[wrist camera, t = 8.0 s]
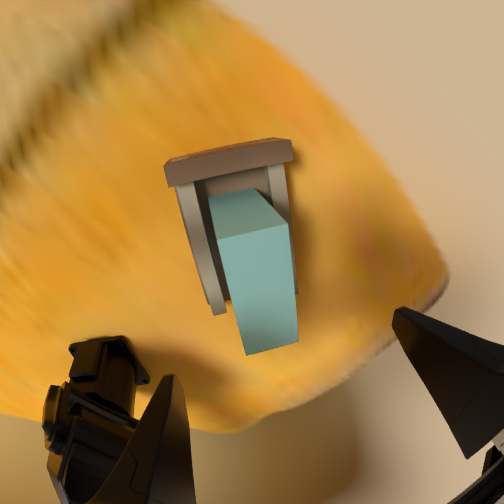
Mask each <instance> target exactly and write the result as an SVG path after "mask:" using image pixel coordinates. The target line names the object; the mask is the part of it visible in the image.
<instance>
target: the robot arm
mask: <svg viewBox="0 0 504 504" xmlns="http://www.w3.org/2000/svg"><path fill="white" fill-rule="evenodd" d="M392 328H393V330H394V332H395V334H396V336H397V338H398V340H399V342H400V344H401V346H402V348H403V350H404V352H405V353H406V355H407V357H408V359H409V360H410V362H411V364H412V365H413V367H414V368H415V370H416V371H417V373H418V374H419V376H420V378H421V379H422V381H423V382H424V384H425V386H426V388H427V389H428V391H429V393H430V394H431V396H432V398H433V399H434V401H435V403H436V404H437V406H438V408H439V410H440V411H441V413H442V415H443V417H444V418H445V420H446V422H447V424H448V425H449V427H450V429H451V431H452V433H453V435H454V437H455V439H456V441H457V442H458V444H459V446H460V448H461V450H462V452H463V454H464V456H465V458H466V459H469V458H470V457H471V456H473V455H474V454H475V453H476V452H478V451H479V450H480V449H481V448H483V447H484V446H485V445H486V444H487V443H488V442H490V441H491V440H492V441H493V443H494V445H493V446H492V447H491V448H490V449H489V450H488V451H487V452H486V457H485V461H484V466H483V471H482V476H481V477H480V478H479V479H477V480H476V481H475V482H474V483H473V484H472V485H470V486H469V487H468V488H467V489H466V490H465V491H463V492H462V493H461V494H459V495H458V496H457V497H456V498H454V499H453V500H451V501H450V502H449V503H447V504H504V345H501V344H497V343H494V342H491V341H488V340H485V339H483V338H480V337H478V336H475V335H473V334H470V333H468V332H465V331H462V330H460V329H458V328H456V327H453V326H451V325H448V324H446V323H443V322H441V321H438V320H436V319H434V318H431V317H429V316H426V315H424V314H421V313H419V312H417V311H414V310H412V309H409V308H407V307H404V306H402V307H400V308H397V309H395V311H394V315H393V320H392ZM119 341H120V342H119ZM121 342H122V343H121ZM69 351H70V353H71V354H72V356H73V357H74V360H73V363H72V366H71V369H70V372H69V377H70V381H69V383H68V382H66V381H65V382H64V383H63V384H62V386H61V387H60V386H59V385H58V386H55V385H51V386H50V387H49V390H48V393H47V396H46V399H45V403H44V408H43V418H42V428H43V430H44V435H45V448H46V449H47V450H49V451H50V452H49V456H48V461H47V469H48V472H49V475H50V478H51V480H52V483H53V486H54V488H55V490H56V493H57V495H58V498H59V500H60V502H61V504H196V496H195V488H194V478H193V468H192V457H191V444H190V429H189V421H188V415H187V410H186V404H185V398H184V392H183V388H182V386H181V384H180V382H179V381H178V379H177V377H176V376H175V375H174V374H168V375H164V376H163V377H162V379H161V381H160V383H159V385H158V387H157V389H156V390H155V392H154V394H153V396H152V398H151V400H150V402H149V404H148V406H147V407H146V409H145V411H144V413H143V415H142V417H141V419H140V420H137V419H135V418H133V417H134V404H135V393H136V385H143V384H149V383H150V377H149V376H148V374H147V373H146V371H145V370H144V368H143V367H142V365H141V364H140V362H139V361H138V359H137V358H136V356H135V354H134V353H133V351H132V350H131V348H130V346H129V345H128V343H127V341H126V340H125V338H123V337H121V336H118V337H112V338H107V339H101V340H95V341H89V342H82V343H76V344H71V345H70V346H69Z"/></svg>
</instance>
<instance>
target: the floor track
mask: <svg viewBox="0 0 504 504" xmlns="http://www.w3.org/2000/svg"><path fill="white" fill-rule="evenodd" d="M290 161H294V157H293V150H292V143H291V140H287V139H281V138H268V139H261V140H255V141H250V142H244V143H239V144H234V145H228V146H224V147H219V148H214V149H210V150H205V151H201V152H196V153H192V154H188V155H184V156H180V157H176V158H172V159H169V160H168V161H167V162H166V164H165V165H164V166H163V167H164V171H165V175H166V179H167V183H168V187H173V186H174V188H175V192H176V196H177V200H178V204H179V207H180V211H181V215H182V219H183V222H184V226H185V230H186V233H187V237H188V240H189V244H190V247H191V251H192V254H193V257H194V261H195V264H196V267H197V271H198V274H199V277H200V281H201V284H202V287H203V290H204V293H205V296H206V300H207V303H208V305H209V304H210V306H211V309H212V312H213V315H214V316H215V315H219V314H223V313H227V310H226V305H225V300H230V299H231V297H230V293H229V289H228V285H227V281H226V277H225V272H224V268H223V264H222V260H221V256H220V252H219V248H218V243H217V239H216V234H215V230H214V225H213V220H212V216H211V211H210V206H209V201H208V197H212V196H216V195H221V194H225V193H230V192H234V191H239V190H244V189H249V188H254V189H255V190H256V191H257V192H258V193H259V194H260V195H261V196H262V197H263V198H264V199H265V200H266V201H267V202H268V203H269V204H270V205H271V206H272V207H273V208H274V210H275V211H276V212H277V213H278V214H279V215H280V216H281V217H282V218H283V219H284V220H285V221H286V222H287V223H288V229H289V238H290V248H291V257H292V267H293V278H294V289H295V295H296V294H298V284H297V273H296V263H295V253H294V244H293V235H292V226H291V217H290V209H289V201H288V193H287V185H286V178H285V170H284V162H290Z"/></svg>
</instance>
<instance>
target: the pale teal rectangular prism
mask: <svg viewBox="0 0 504 504" xmlns="http://www.w3.org/2000/svg"><path fill="white" fill-rule="evenodd" d="M208 201H209V206H210V211H211V216H212V220H213V225H214V230H215V234H216V239H217V243H218V248H219V252H220V256H221V260H222V264H223V268H224V272H225V277H226V281H227V285H228V289H229V293H230V297H231V301H232V304H233V308H234V312H235V316H236V320H237V324H238V328H239V331H240V335H241V339H242V343H243V346H244V350H245V354H246V356H248V355H252V354H256V353H259V352H263V351H267V350H271V349H274V348H278V347H281V346H285V345H288V344H292V343H295V342H299V339H298V325H297V312H296V300H295V289H294V278H293V267H292V257H291V248H290V238H289V229H288V223H287V222H286V221H285V220H284V219H283V218H282V217H281V216H280V215H279V214H278V213H277V212H276V211H275V210H274V208H273V207H272V206H271V205H270V204H269V203H268V202H267V201H266V200H265V199H264V198H263V197H262V196H261V195H260V194H259V193H258V192H257V191H256V190H255V189H254V188H249V189H244V190H239V191H234V192H230V193H225V194H221V195H216V196H212V197H208Z"/></svg>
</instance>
